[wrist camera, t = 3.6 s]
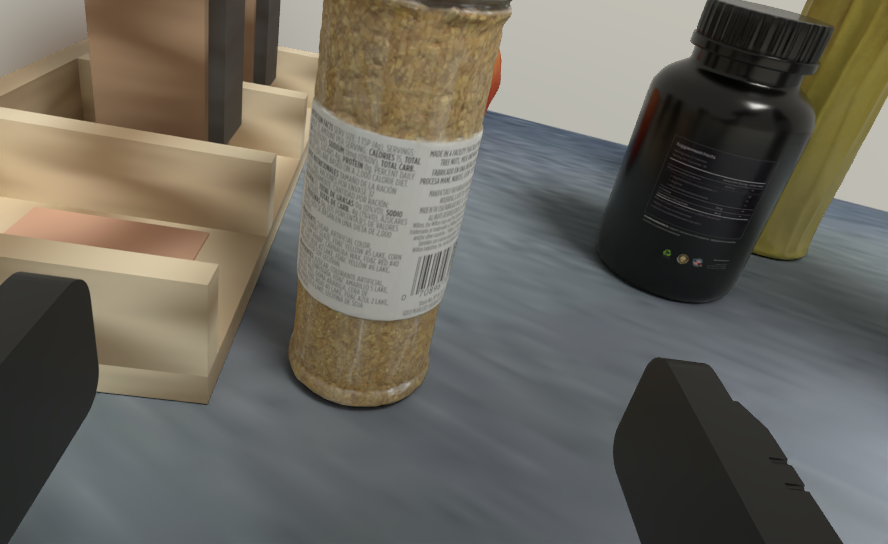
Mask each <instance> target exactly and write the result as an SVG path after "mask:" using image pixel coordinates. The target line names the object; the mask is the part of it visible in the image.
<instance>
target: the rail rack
mask: <svg viewBox="0 0 888 544" xmlns="http://www.w3.org/2000/svg"><path fill="white" fill-rule="evenodd" d="M85 11H86V21H87V32H88V38H87V39H85V40H83V41H80V42H78V43H76V44H74V45H72V46H69V47H67V48H65V49H63V50H60V51H58V52H56V53H54V54H52V55H49V56H47V57H45V58H43V59H41V60H38V61H36V62H34V63H32V64H30V65H28V66H25V67H23V68H21V69H18V70H16V71H14V72H12V73H10V74H7V75H6V76H3V77H1V78H0V285H1V284H2V283H3V282H4V281H5V280H6V279H7V278H8V277H10V276H11V275H12V274H14V273H16V272H20V271H21V272H29V273H37V274H45V275H52V276H60V277H67V278H75V279H82V280H84V281H85V282H86V283H87V285H88V288H89V291H90V296H91V304H92V313H93V321H94V330H95V338H96V347H97V355H98V364H99V379H98V386H97V390H96V392H105V393H114V394H123V395H131V396H140V397H149V398H158V399H167V400H176V401H185V402H194V403H203V404H208V402H209V399H210V397H211V394H212V392H213V389H214V387H215V384H216V382H217V379H218V377H219V374H220V372H221V369H222V367H223V364H224V362H225V359H226V357H227V355H228V352H229V350H230V347H231V345H232V342H233V340H234V337H235V335H236V332H237V330H238V327H239V325H240V322H241V320H242V317H243V315H244V312H245V310H246V307H247V305H248V302H249V300H250V297H251V295H252V292H253V290H254V287H255V285H256V283H257V280H258V278H259V275H260V273H261V270H262V268H263V265H264V263H265V260H266V258H267V255H268V253H269V250H270V248H271V245H272V243H273V240H274V238H275V235H276V233H277V230H278V228H279V225H280V223H281V220H282V218H283V215H284V213H285V211H286V208H287V206H288V203H289V201H290V198H291V196H292V193H293V191H294V188H295V186H296V183H297V181H298V178H299V176H300V173H301V171H302V168H303V166H304V163H305V161H306V158H307V150H308V138H309V129H310V117H311V108H312V101H313V98H314V96H315V94H314V91H315V82H316V76H317V70H318V58H319V54H317V53H312V52H307V51H302V50H296V49H291V48H286V47H281V46H278V33H279V16H280V0H85Z"/></svg>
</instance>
